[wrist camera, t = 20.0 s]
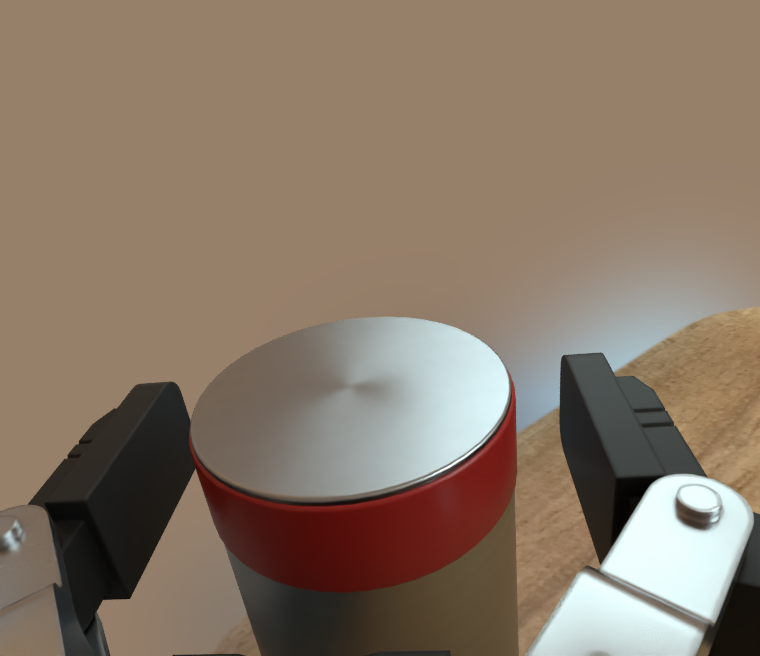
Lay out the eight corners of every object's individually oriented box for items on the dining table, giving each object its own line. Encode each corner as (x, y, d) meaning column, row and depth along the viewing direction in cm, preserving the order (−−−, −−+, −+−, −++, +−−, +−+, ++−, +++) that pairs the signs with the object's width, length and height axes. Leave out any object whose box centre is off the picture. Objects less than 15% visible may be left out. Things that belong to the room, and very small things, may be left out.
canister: (351, 989, 13) (191, 557, 7) (302, 742, 17) (182, 356, 12) (567, 878, 14) (588, 429, 8) (469, 674, 19) (436, 293, 13)
